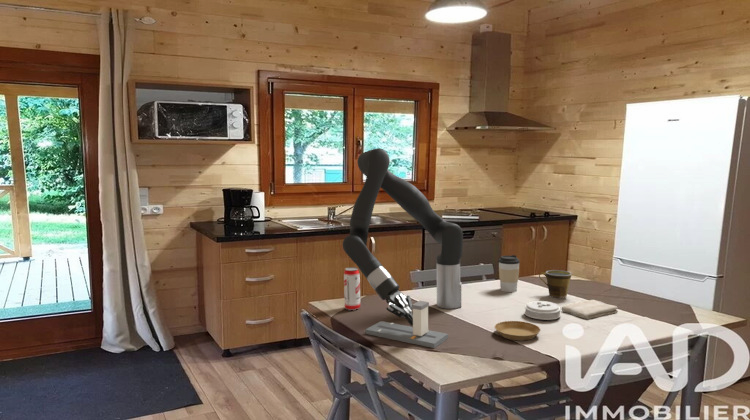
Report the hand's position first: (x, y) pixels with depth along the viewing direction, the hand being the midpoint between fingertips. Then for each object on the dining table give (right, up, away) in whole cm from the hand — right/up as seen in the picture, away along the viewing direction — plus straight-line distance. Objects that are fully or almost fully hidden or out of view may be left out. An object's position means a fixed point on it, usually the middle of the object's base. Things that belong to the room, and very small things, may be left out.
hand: (415, 323), depth 174 cm
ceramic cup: (+61, +2, +45) cm, 77 cm away
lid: (+48, -2, +20) cm, 53 cm away
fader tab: (+2, -3, -1) cm, 3 cm away
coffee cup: (+45, +2, +56) cm, 72 cm away
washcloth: (+68, -1, +24) cm, 72 cm away
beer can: (-22, -1, +33) cm, 40 cm away
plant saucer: (+34, -4, +2) cm, 35 cm away
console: (-3, -5, +2) cm, 6 cm away
